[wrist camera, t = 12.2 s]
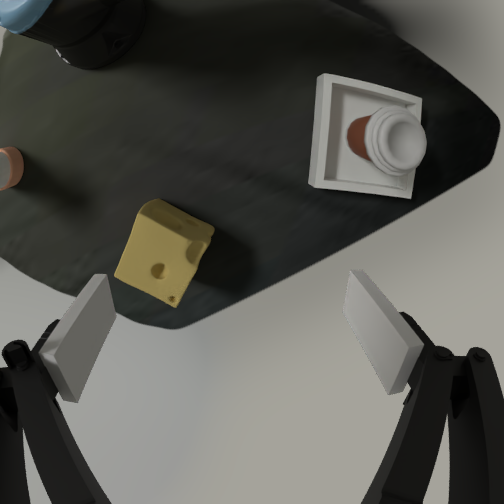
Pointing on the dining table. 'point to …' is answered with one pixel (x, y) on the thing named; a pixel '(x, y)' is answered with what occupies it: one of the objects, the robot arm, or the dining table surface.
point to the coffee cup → (388, 140)
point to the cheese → (163, 251)
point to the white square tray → (334, 130)
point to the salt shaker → (10, 167)
